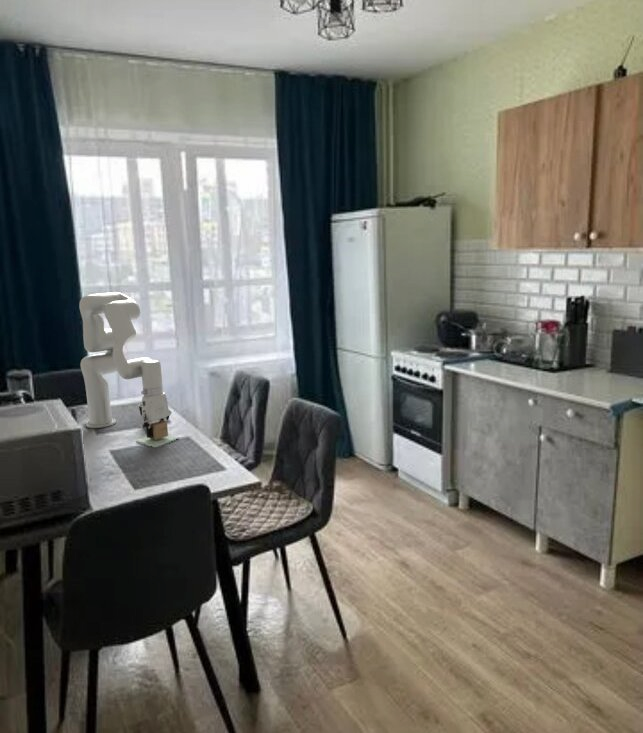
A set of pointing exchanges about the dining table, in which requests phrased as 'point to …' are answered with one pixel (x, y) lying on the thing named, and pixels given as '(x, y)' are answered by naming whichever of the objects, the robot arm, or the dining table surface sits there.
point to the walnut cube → (159, 429)
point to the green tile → (157, 441)
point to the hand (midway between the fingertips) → (157, 434)
